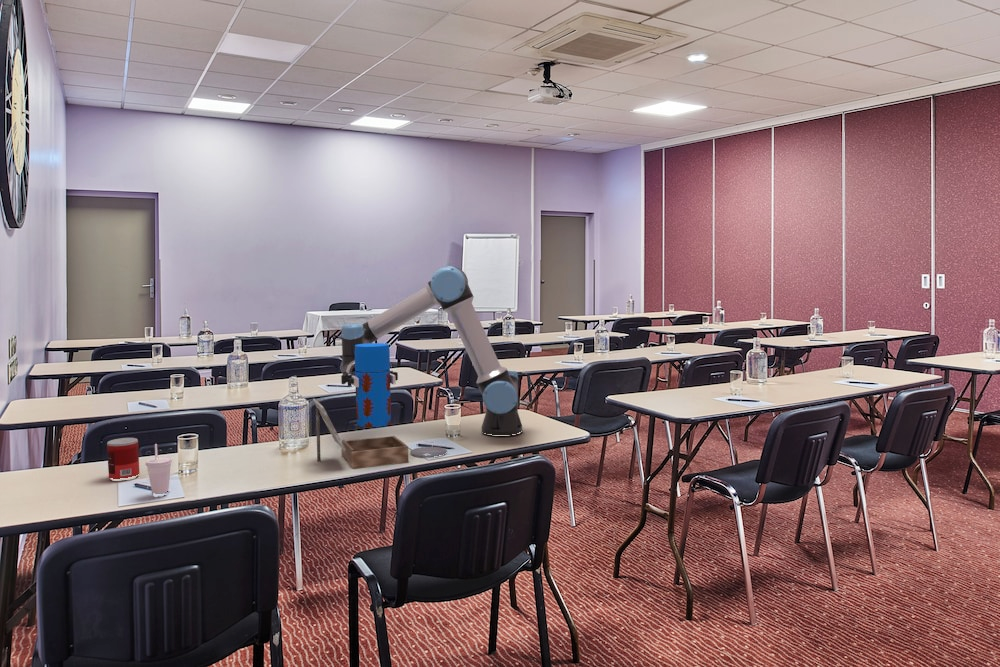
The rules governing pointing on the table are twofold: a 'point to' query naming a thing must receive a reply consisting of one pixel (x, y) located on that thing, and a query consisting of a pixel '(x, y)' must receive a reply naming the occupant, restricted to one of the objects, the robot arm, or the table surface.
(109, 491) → the table surface
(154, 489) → the smoothie
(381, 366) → the thermos
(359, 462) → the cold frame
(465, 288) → the robot arm
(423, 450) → the disc
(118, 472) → the canned food
